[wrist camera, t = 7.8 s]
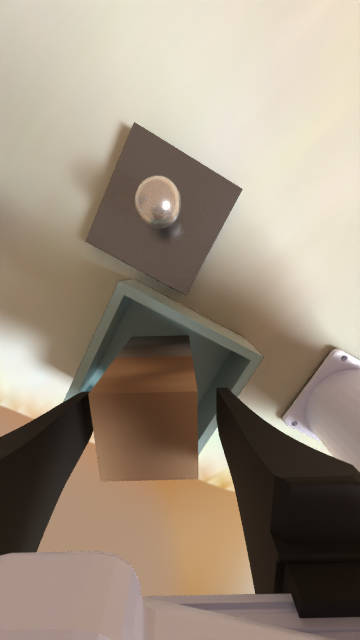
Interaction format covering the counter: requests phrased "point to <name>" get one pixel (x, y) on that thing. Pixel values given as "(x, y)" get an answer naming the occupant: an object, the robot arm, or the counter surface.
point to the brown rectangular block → (147, 412)
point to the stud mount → (161, 210)
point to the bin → (169, 320)
